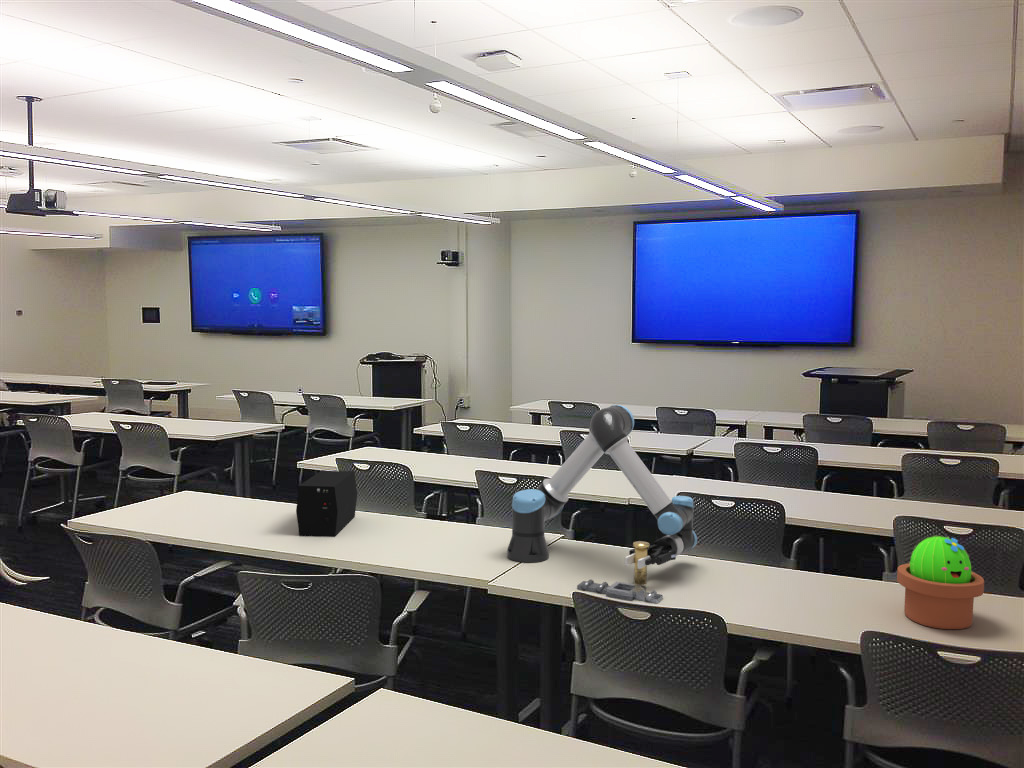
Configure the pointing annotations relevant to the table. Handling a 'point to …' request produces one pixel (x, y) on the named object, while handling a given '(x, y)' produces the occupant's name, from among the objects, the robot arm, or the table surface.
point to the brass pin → (640, 552)
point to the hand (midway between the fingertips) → (632, 562)
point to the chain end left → (602, 589)
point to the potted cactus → (940, 584)
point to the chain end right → (634, 592)
